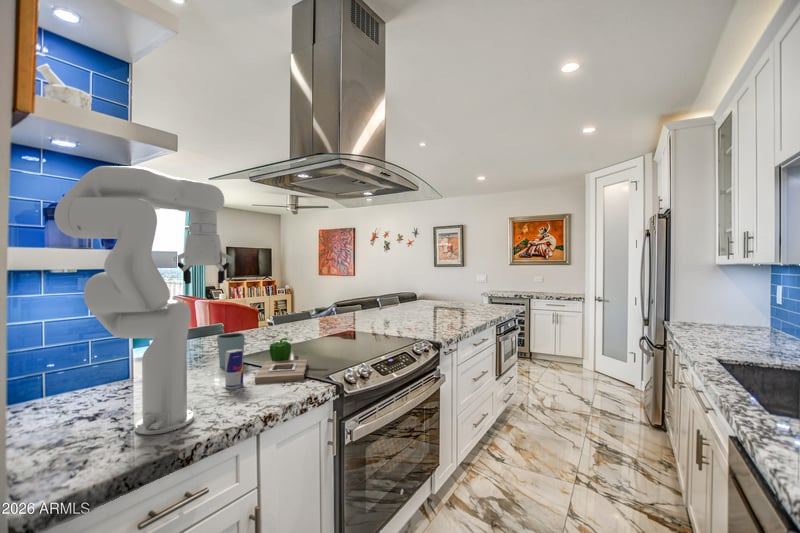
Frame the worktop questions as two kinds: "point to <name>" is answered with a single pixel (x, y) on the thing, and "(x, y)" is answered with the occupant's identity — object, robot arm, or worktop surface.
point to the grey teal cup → (229, 345)
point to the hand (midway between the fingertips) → (204, 283)
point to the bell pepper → (280, 350)
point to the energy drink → (234, 368)
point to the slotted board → (281, 371)
